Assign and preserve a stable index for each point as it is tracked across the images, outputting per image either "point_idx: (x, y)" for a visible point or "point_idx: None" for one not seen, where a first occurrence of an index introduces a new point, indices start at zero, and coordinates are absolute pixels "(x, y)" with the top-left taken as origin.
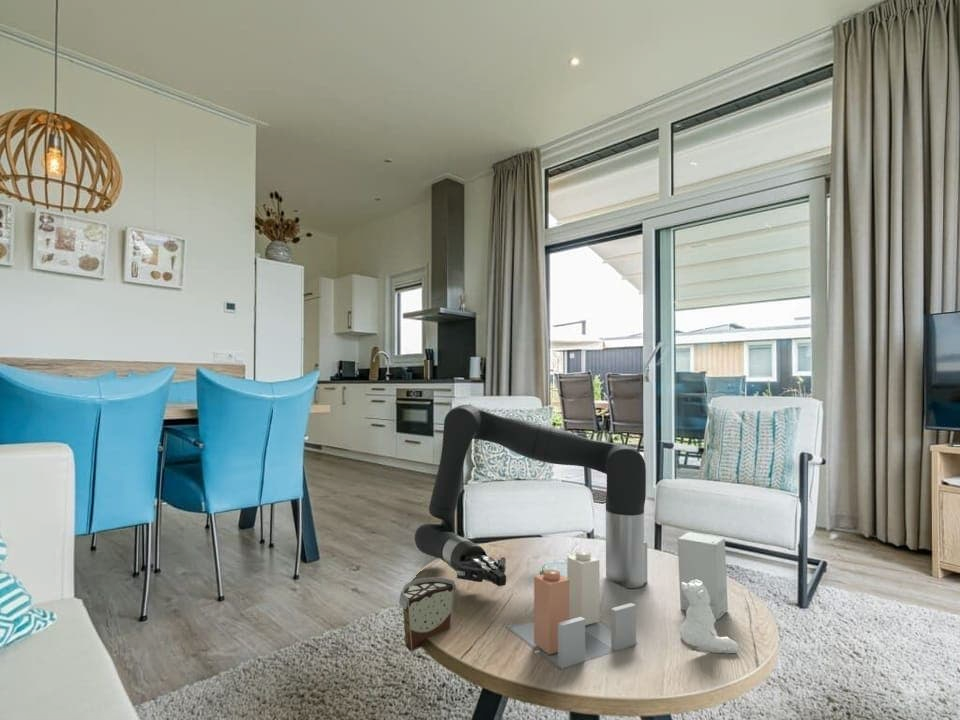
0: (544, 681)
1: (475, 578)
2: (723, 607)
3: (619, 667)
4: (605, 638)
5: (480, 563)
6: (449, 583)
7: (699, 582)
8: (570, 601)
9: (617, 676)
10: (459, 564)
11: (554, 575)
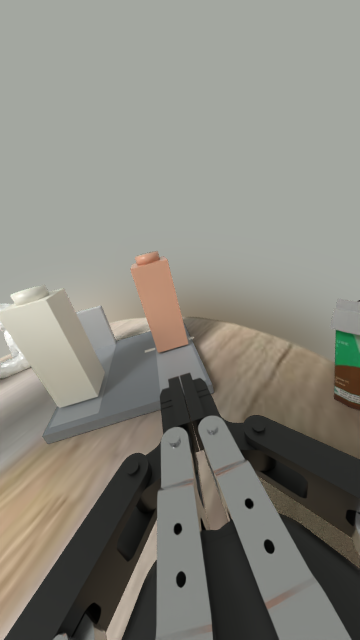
0: (200, 323)
1: (285, 467)
2: None
3: (128, 337)
4: (104, 355)
5: (253, 485)
6: (358, 312)
7: (3, 304)
8: (87, 367)
9: (140, 330)
10: None
11: (149, 252)
